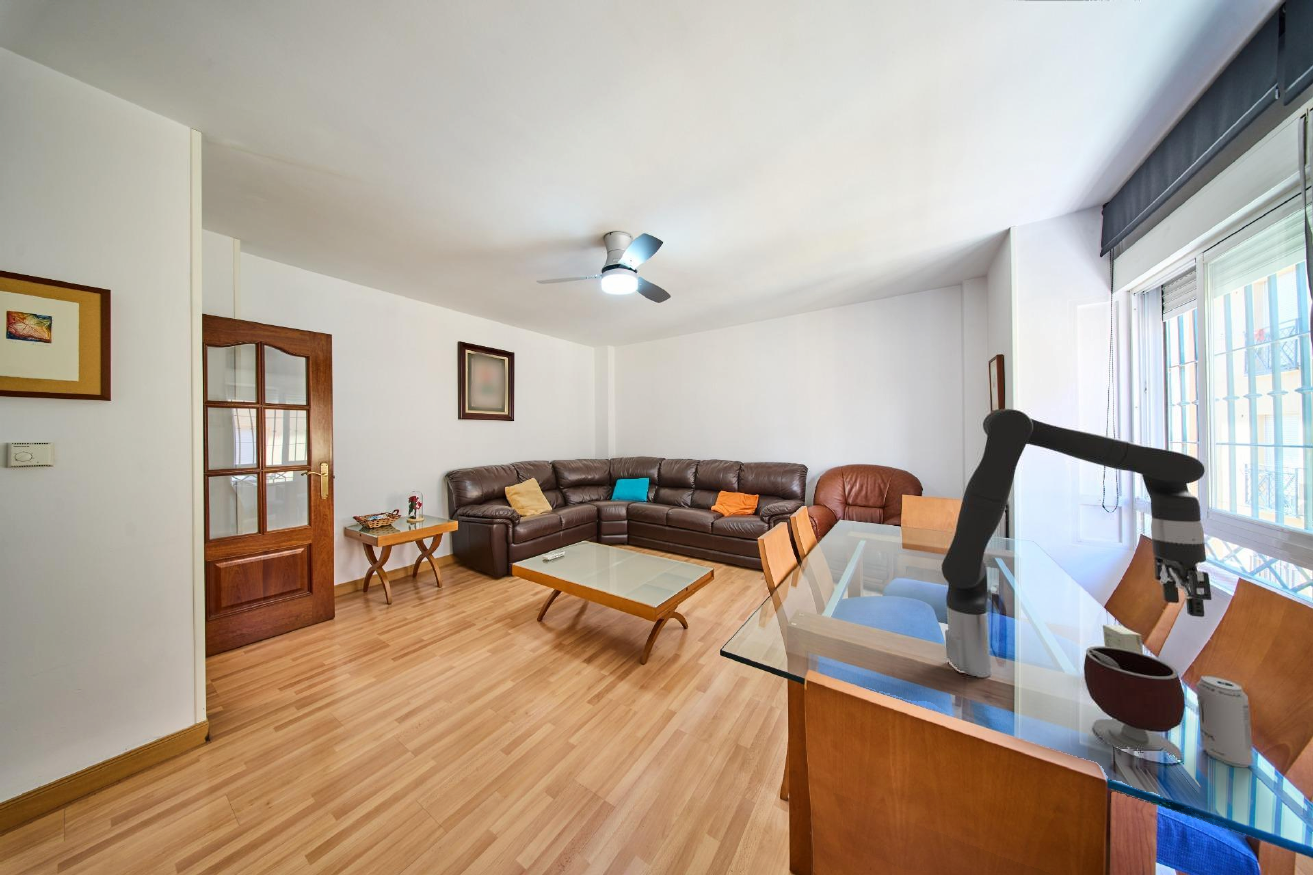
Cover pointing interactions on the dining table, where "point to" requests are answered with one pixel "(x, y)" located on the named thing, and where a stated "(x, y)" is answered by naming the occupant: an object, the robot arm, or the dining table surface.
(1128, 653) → the mate gourd
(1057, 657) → the dining table surface
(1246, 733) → the energy drink can
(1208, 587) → the robot arm
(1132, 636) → the skincare box
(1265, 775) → the dining table surface
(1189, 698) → the dining table surface
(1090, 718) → the dining table surface
